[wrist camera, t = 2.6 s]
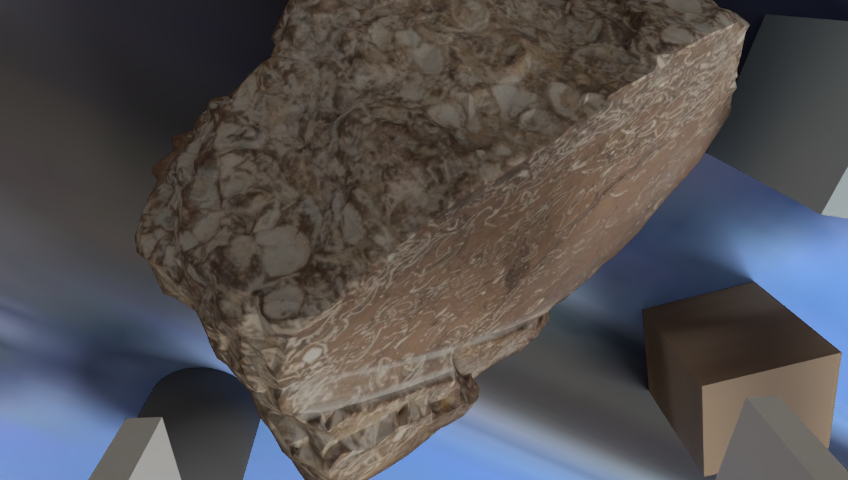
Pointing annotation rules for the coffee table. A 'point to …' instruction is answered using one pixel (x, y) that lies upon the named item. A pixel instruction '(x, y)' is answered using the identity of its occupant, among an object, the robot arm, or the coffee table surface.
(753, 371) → the walnut cube
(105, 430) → the coffee table surface
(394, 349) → the rock
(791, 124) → the bluegrey block
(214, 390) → the dark grey cylinder
